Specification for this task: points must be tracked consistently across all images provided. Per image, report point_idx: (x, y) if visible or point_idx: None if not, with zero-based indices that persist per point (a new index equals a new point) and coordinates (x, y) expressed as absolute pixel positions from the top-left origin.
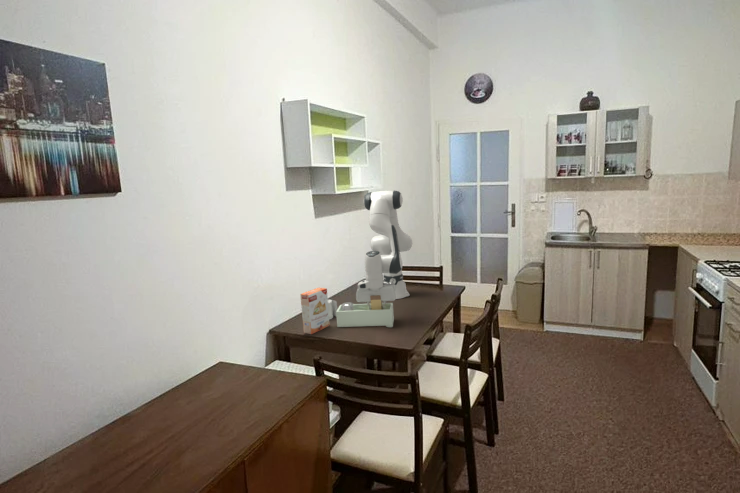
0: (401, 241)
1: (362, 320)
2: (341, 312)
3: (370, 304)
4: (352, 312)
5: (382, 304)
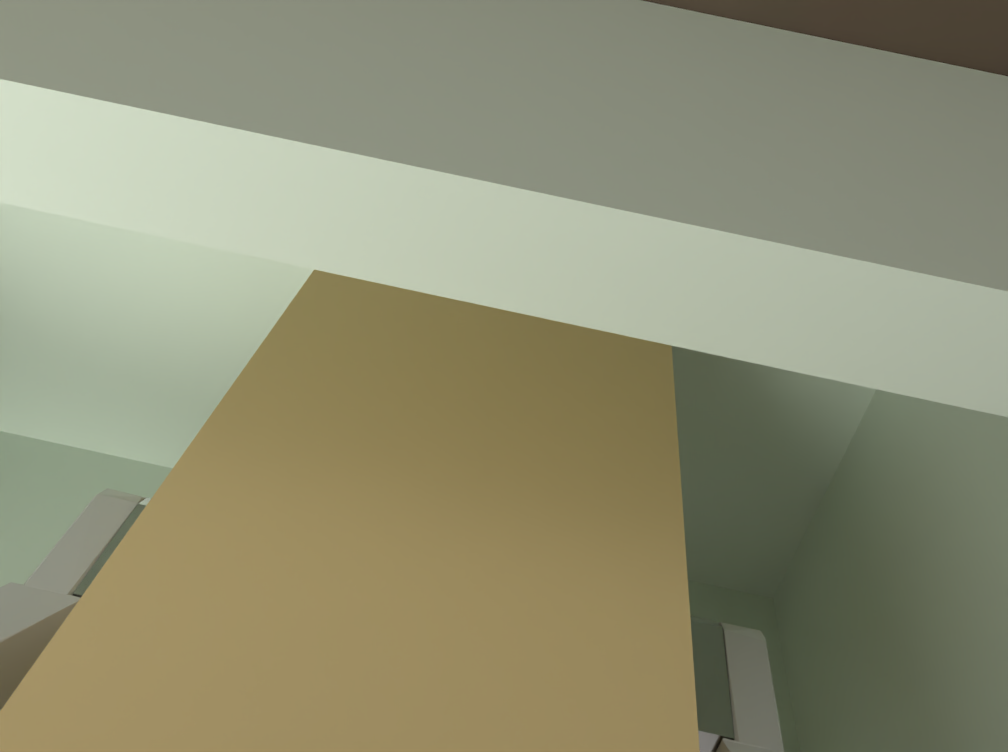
0: None
1: None
2: None
3: (15, 198)
4: None
5: (779, 347)
